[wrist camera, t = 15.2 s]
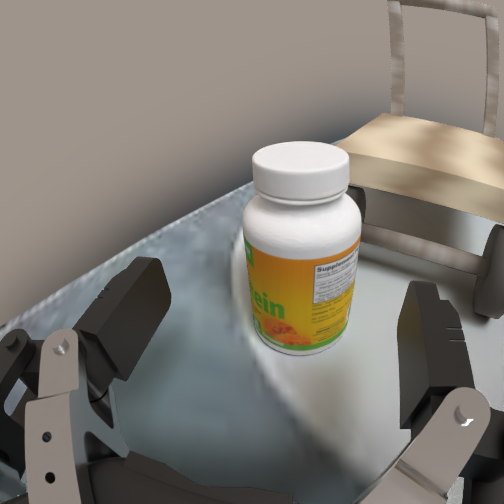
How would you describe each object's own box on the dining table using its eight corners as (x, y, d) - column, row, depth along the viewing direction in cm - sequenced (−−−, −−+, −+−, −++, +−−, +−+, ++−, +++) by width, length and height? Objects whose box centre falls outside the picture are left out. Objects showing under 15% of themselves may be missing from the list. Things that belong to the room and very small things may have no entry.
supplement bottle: (237, 313, 19) (212, 153, 13) (309, 278, 21) (309, 131, 15) (288, 375, 15) (283, 191, 9) (366, 327, 17) (393, 159, 11)
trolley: (485, 200, 28) (499, 13, 16) (493, 338, 14) (554, -51, 2) (385, 174, 35) (384, -5, 22) (310, 279, 21) (291, -78, 8)
